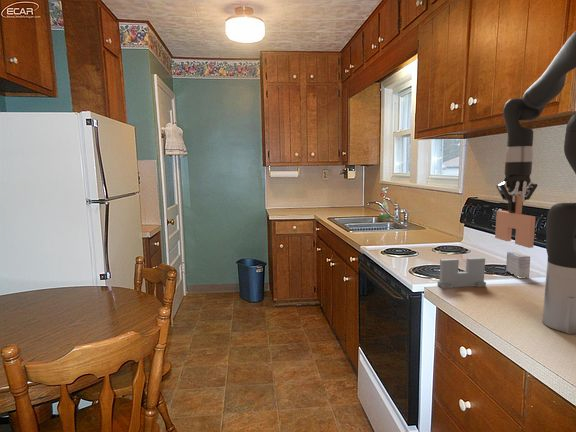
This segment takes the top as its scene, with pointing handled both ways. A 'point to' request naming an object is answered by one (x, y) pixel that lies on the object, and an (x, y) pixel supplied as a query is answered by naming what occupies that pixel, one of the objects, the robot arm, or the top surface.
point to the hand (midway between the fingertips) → (514, 212)
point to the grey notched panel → (462, 273)
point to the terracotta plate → (516, 225)
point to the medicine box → (518, 264)
